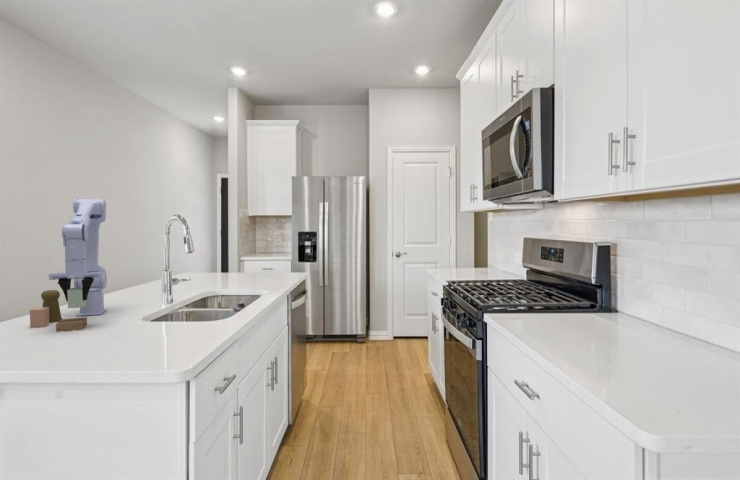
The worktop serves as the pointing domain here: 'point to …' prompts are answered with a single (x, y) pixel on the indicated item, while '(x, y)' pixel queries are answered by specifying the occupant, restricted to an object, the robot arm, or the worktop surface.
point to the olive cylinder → (52, 304)
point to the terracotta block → (39, 317)
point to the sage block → (75, 298)
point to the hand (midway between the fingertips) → (76, 300)
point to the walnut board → (71, 324)
